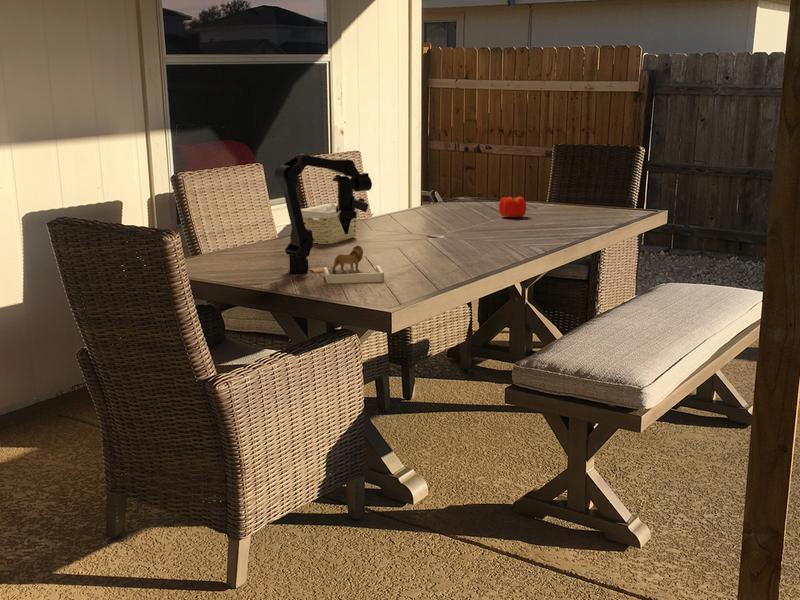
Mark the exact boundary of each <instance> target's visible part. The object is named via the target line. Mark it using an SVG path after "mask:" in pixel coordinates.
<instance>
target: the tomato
mask: <svg viewBox="0 0 800 600" xmlns="http://www.w3.org/2000/svg"><path fill="white" fill-rule="evenodd" d="M526 202H527V201H526V199H525V198H524V197H522V196H517V197H512V196H508V197H506V196H503V197H502V198H501V199H500V200H499V205H498V211H499V214H500V215H501V216H502V217H503V216H506V217H505V218H507V217H520V218H522V217H524V216H525V215H526V212H527V203H526Z"/></svg>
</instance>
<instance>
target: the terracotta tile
mask: <svg viewBox="0 0 800 600" xmlns="http://www.w3.org/2000/svg"><path fill="white" fill-rule="evenodd" d="M324 267H325V266H320V267H310V268H309V267H308V271H310V270H311V271H310V272H312V271H313V272H312V273H314V274H317V272H318V274H319V272H321V273H324ZM327 269H328V272H329V273H330V272H331V269H330V268H328V267H327Z"/></svg>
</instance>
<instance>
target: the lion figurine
mask: <svg viewBox="0 0 800 600" xmlns="http://www.w3.org/2000/svg"><path fill="white" fill-rule="evenodd" d="M363 255H364V249H363V247H362V246H361V245H354V246H353V247H352V250H351V252H350V253H348V254H344V253H343V254H342V253H341V254H338V255H337V256H336V257H335V259H334V261H333V265H332V274H335V273H337V270H336V268H337V267H338V266H340V271H341V272H342V274H347V271H346V270H344V266H345V265H350V271H354V270H355V271H357V272H359V271H360V269H358V268H359V263H360V262H361V261H362V260H363ZM354 265H355V266H354Z"/></svg>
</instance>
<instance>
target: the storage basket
mask: <svg viewBox="0 0 800 600" xmlns="http://www.w3.org/2000/svg"><path fill="white" fill-rule="evenodd" d="M337 205H338V203H332V202H331V203H329V202H328V203H327V204H320V205H316V206H315V205H314V206H312V207H305V208H301V212H302V216H303V221H304V225H305V228H306V229H308V230H311V231H312V236H313V239H314V241H313V244H315V243H318V244H317V245H324V244H326V245H333V244H336V243H340V242H344V241H347V240H350V239H353V238H356V237H357V236H358V235H357V224H358V222H357V221H358V217H357V218H353V219H352V220H351V221H350V226H349V231H348V234H345V233H344V230H343V228H342V225H341V223H340V220H339V218H338V216H337V215H339V212H338V213H336V206H337ZM354 211H355V212H356V213H357V216H358V215H359V214H358V211H359V209H356V208H355V210H354Z"/></svg>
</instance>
